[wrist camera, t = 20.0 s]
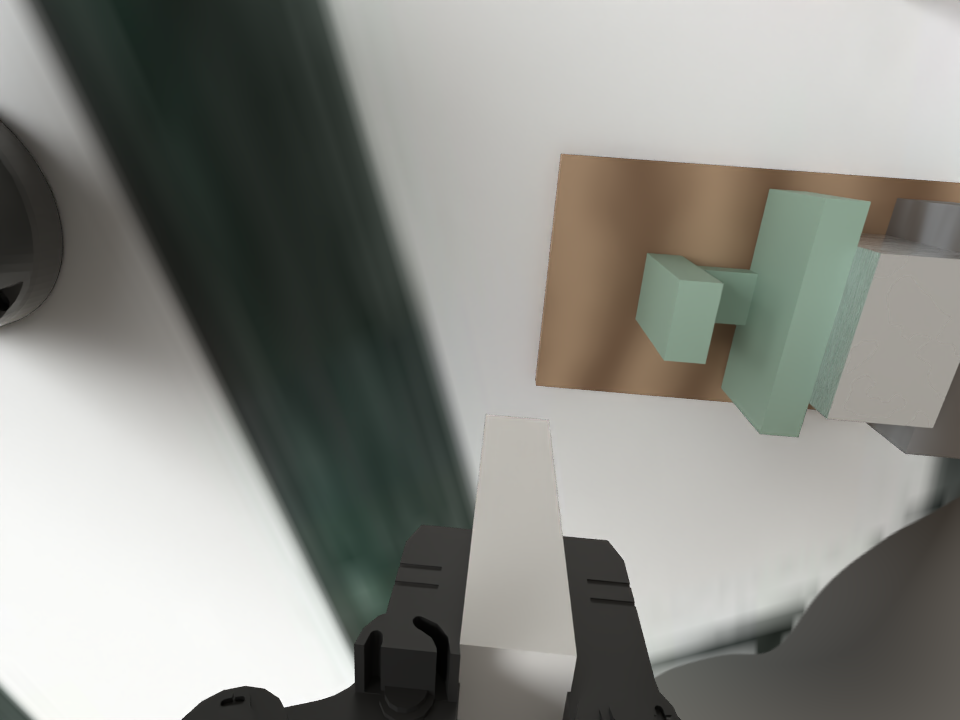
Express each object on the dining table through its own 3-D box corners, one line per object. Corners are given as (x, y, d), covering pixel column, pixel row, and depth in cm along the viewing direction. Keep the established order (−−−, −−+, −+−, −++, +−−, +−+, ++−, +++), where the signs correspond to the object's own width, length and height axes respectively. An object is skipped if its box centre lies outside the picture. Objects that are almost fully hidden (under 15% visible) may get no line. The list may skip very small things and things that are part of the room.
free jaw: (624, 379, 35) (649, 433, 29) (659, 180, 31) (698, 189, 24) (753, 390, 35) (807, 446, 28) (806, 191, 31) (884, 203, 24)
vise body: (535, 379, 37) (540, 438, 29) (560, 153, 32) (574, 156, 24) (875, 408, 36) (967, 476, 29) (956, 182, 31) (1094, 194, 24)
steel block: (759, 359, 34) (827, 419, 27) (794, 228, 32) (881, 253, 24) (842, 366, 34) (932, 428, 27) (885, 234, 31) (1000, 262, 24)
